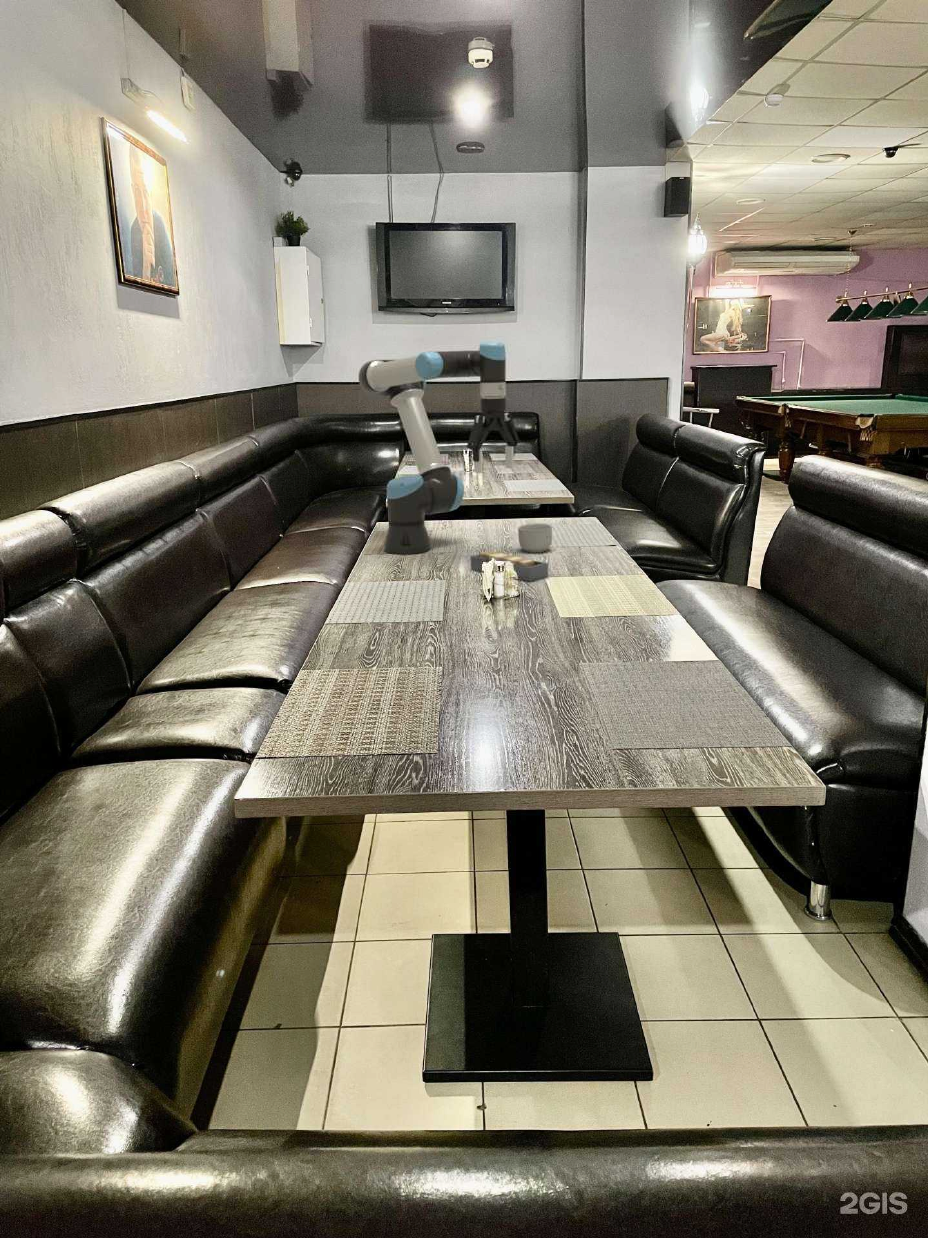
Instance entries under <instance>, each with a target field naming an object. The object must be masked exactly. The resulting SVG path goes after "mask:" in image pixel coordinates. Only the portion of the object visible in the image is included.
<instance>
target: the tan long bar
mask: <svg viewBox="0 0 928 1238" xmlns="http://www.w3.org/2000/svg"><path fill="white" fill-rule="evenodd" d="M480 557H482V558H487V559H488V562H489V561H491V560H492V558H494V559H495V560H496V561H510V562H511V563H513V565H515V564H518V565H523V566H529V567H531V566H534V561H535V560H534V559H531V558H526V557H519V556H514V555H510V554H504V553H500V552H495V551H491V550H490V551H485V552H481V553H480Z"/></svg>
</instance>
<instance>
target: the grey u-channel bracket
mask: <svg viewBox="0 0 928 1238" xmlns="http://www.w3.org/2000/svg"><path fill="white" fill-rule="evenodd" d="M483 562H488V559H487V558H482V557H480V554H475V555H471V556H470V571H476V572H481V573H483V572H482V564H483Z"/></svg>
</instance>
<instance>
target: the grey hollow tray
mask: <svg viewBox="0 0 928 1238" xmlns="http://www.w3.org/2000/svg"><path fill="white" fill-rule="evenodd" d="M514 569H515V570H516V573H517V575H518V579H517V580H518V581H521V582H522V581H523V582H528V583H532V582H537V581H539V580H542V579H543V580H544V579H546V578H548V577H549V563H548V562H543V561H538V560H534V566H531V567H529V566H523V565H518V564H515V565H514Z"/></svg>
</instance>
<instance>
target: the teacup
mask: <svg viewBox="0 0 928 1238" xmlns="http://www.w3.org/2000/svg"><path fill="white" fill-rule="evenodd" d="M552 529H553V525H552V524H550V523H544V522H543V523H542V522H541V523H540V522H537V523H530V522H528V523H526V524H522V525H519V526H518V527H517V533H518V543H519V546H520V548H522V549H523V550H524V552H526V553H533V554H534V553H543V552H545V551H547V550H548V549H549V547H551V545H552V543H553V542H552V541H553V531H552Z"/></svg>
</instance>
